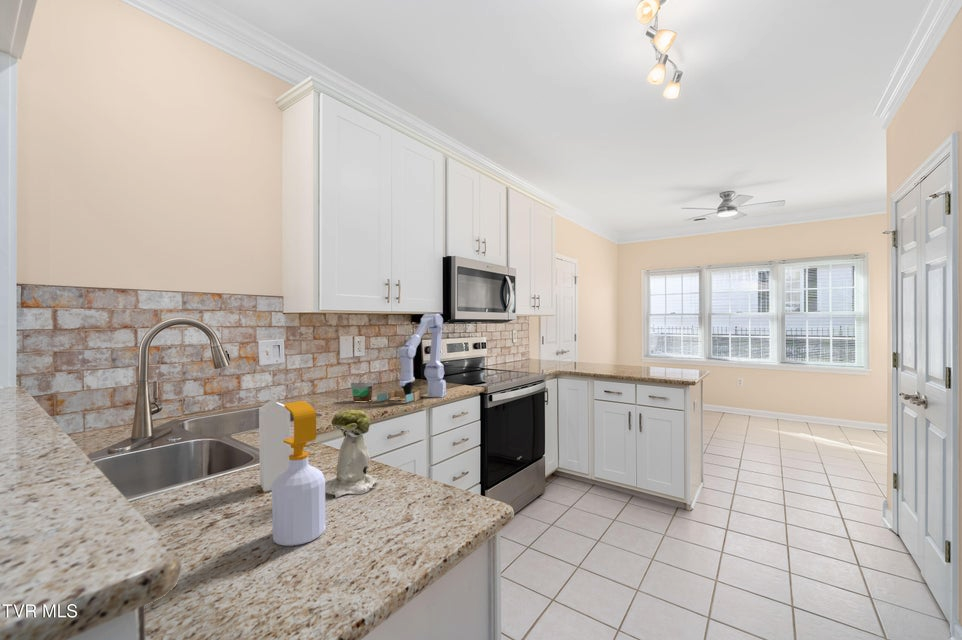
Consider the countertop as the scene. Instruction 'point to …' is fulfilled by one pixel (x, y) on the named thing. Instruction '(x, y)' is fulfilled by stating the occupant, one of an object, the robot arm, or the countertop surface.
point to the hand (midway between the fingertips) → (407, 398)
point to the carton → (403, 395)
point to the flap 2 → (409, 397)
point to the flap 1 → (381, 396)
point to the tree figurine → (351, 455)
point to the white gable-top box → (273, 442)
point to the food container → (362, 391)
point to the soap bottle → (299, 486)
